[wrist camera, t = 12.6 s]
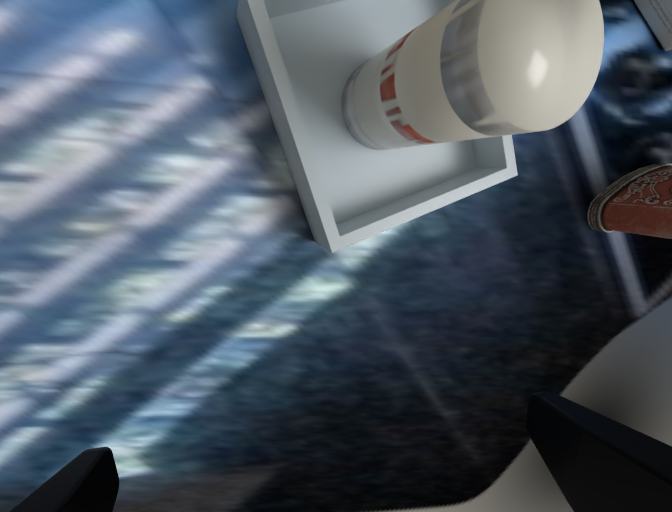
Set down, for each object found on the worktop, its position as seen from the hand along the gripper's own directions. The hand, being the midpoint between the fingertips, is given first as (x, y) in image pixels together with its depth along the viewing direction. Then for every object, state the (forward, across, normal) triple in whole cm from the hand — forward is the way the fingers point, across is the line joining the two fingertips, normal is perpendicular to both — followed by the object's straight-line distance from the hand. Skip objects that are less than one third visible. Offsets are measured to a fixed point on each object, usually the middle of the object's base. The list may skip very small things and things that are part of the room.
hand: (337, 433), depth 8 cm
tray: (+14, -4, -8) cm, 17 cm away
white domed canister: (+14, -5, -8) cm, 16 cm away
